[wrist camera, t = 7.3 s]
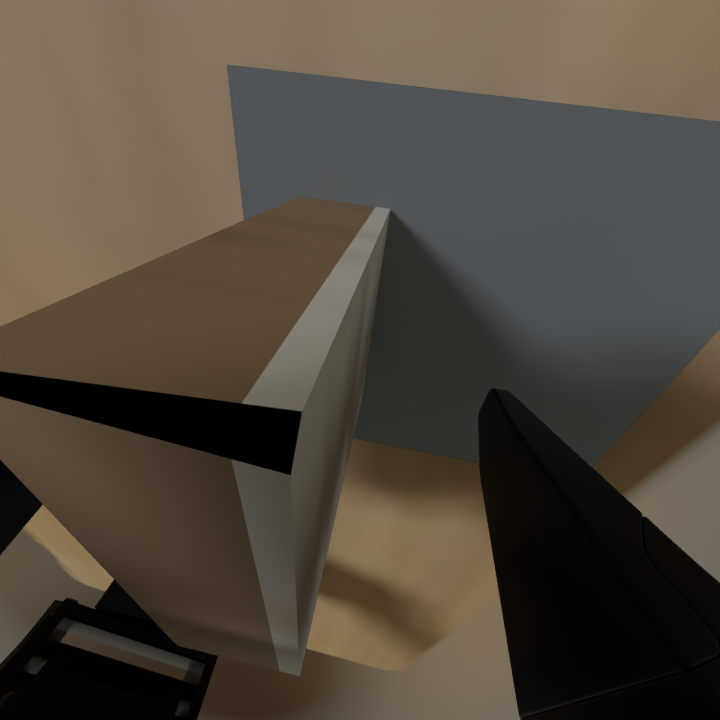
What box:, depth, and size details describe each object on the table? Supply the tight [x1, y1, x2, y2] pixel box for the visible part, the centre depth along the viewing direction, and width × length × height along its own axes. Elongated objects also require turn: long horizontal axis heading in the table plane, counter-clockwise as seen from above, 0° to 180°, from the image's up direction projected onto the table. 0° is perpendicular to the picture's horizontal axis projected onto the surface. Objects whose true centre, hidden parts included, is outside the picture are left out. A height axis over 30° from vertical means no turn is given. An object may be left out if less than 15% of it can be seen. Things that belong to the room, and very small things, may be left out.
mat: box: [227, 65, 720, 467], centre depth 10 cm, size 12×14×1 cm
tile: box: [0, 196, 390, 676], centre depth 7 cm, size 7×2×8 cm, turn 174°
